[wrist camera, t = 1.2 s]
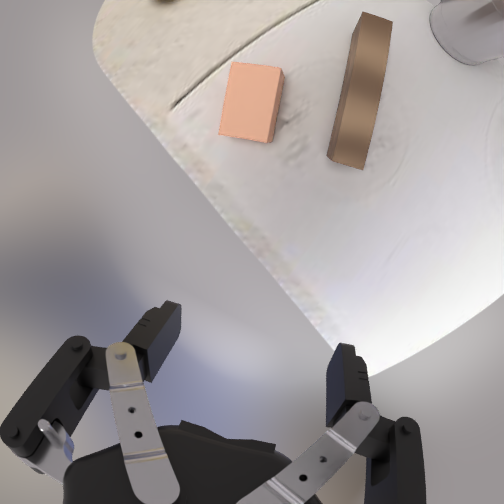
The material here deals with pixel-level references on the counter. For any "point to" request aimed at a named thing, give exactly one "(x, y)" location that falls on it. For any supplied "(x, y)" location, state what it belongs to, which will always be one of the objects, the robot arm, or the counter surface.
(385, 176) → the counter surface
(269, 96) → the terracotta block
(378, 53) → the walnut plank
